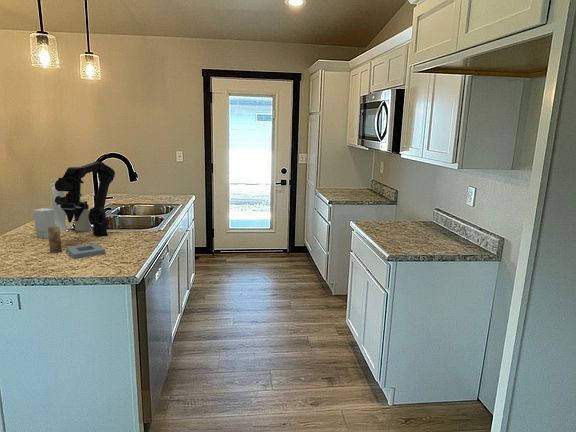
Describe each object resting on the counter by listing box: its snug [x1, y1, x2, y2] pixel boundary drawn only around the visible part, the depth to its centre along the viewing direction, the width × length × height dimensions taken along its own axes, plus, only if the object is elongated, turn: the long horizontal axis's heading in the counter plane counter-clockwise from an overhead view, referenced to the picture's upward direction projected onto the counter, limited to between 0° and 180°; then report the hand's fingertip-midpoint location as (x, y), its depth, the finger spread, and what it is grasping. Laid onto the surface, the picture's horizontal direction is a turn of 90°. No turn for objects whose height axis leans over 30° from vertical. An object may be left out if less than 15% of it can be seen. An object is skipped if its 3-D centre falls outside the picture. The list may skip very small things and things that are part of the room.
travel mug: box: [73, 198, 91, 232], centre depth 239 cm, size 8×8×18 cm
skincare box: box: [32, 207, 56, 239], centre depth 223 cm, size 8×7×16 cm
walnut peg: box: [48, 227, 63, 254], centre depth 198 cm, size 5×5×12 cm
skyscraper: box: [49, 183, 69, 232], centre depth 238 cm, size 8×8×28 cm
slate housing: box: [65, 242, 106, 260], centre depth 198 cm, size 14×14×2 cm
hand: (73, 221), depth 210 cm, fingers open, 9 cm apart
